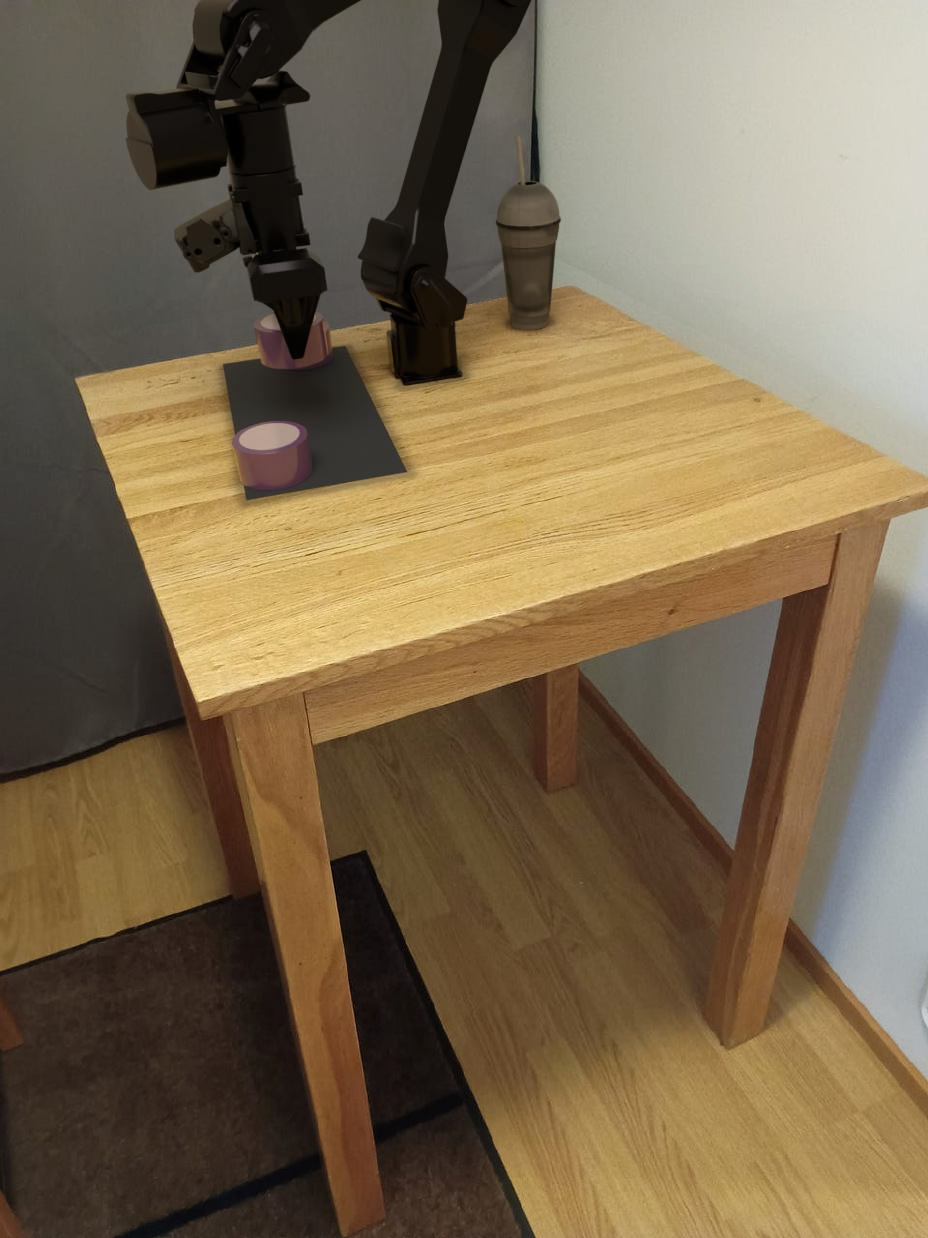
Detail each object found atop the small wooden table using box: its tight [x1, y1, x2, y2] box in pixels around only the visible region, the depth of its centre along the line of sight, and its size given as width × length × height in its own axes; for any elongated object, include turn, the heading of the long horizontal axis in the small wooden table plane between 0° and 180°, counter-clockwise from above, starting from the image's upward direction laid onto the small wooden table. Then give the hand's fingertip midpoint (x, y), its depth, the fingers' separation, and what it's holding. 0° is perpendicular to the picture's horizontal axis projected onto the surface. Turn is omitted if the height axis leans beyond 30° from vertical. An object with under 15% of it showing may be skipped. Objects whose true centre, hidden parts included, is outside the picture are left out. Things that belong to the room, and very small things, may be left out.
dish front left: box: [253, 310, 328, 369], centre depth 88 cm, size 6×6×4 cm
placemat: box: [222, 345, 408, 501], centre depth 93 cm, size 14×33×1 cm, turn 15°
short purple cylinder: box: [286, 320, 334, 370], centre depth 103 cm, size 6×6×4 cm
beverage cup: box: [495, 135, 562, 331], centre depth 104 cm, size 7×7×20 cm
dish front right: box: [231, 421, 313, 491], centre depth 81 cm, size 6×6×4 cm
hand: (293, 345), depth 89 cm, fingers closed on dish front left, 6 cm apart
